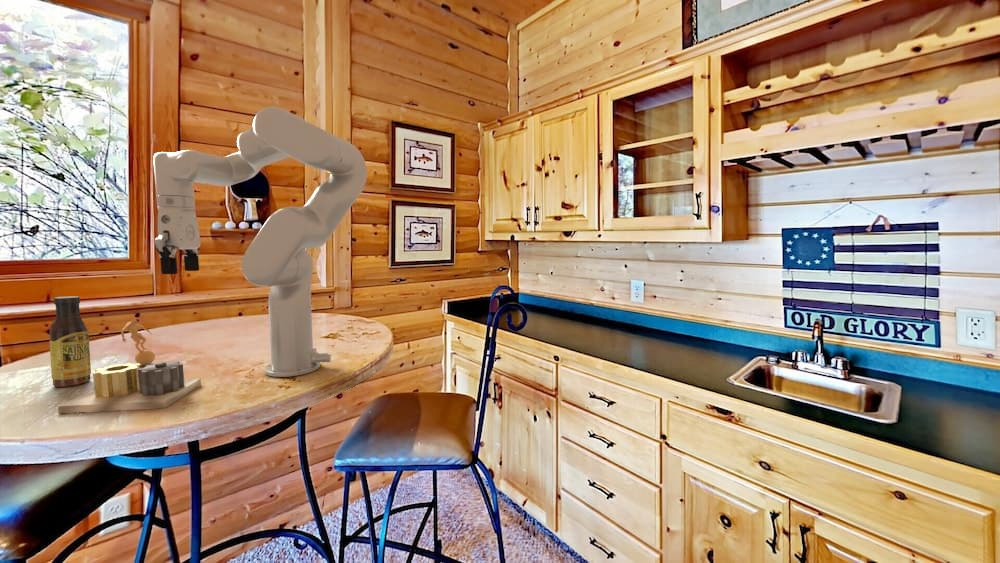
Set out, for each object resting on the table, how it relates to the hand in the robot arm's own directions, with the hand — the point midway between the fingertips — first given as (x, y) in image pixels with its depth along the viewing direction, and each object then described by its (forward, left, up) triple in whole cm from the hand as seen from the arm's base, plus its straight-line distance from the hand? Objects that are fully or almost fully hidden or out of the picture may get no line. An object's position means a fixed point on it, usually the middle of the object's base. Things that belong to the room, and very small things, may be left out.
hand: (181, 272), depth 106 cm
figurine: (+12, -2, -24) cm, 27 cm away
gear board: (-2, +23, -24) cm, 34 cm away
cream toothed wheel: (+1, +23, -23) cm, 32 cm away
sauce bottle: (+18, +11, -24) cm, 32 cm away
